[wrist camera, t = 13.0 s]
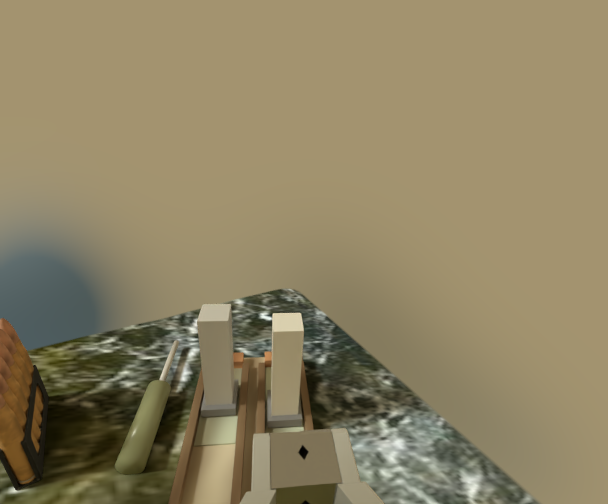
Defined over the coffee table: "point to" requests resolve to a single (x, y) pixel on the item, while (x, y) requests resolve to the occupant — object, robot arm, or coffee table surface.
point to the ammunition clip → (21, 411)
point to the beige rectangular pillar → (285, 371)
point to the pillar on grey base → (217, 360)
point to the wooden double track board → (229, 437)
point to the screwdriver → (145, 423)
